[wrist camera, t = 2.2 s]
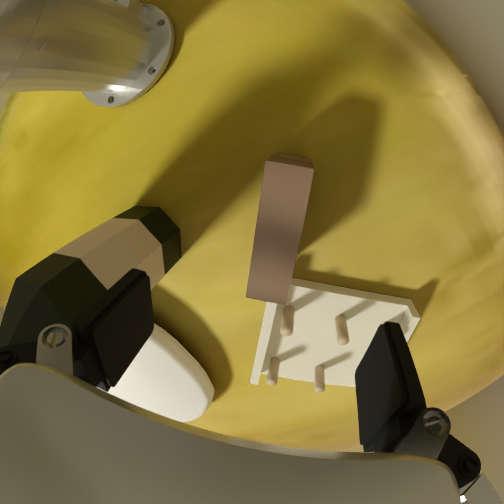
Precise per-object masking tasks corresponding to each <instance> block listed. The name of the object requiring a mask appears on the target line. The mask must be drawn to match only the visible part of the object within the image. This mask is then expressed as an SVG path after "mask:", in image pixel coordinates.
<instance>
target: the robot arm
mask: <svg viewBox="0 0 504 504" xmlns="http://www.w3.org/2000/svg"><path fill="white" fill-rule="evenodd" d="M117 1H118V2H117ZM140 2H141V0H0V94H1V93H12V92H28V91H82V92H83V94H84V95H85V97H86V98H87V99H88V100H89V101H91V102H92V103H93V104H96V105H98V106H102V107H118V106H122V105H126V104H128V103H131V102H133V101H135V100H136V99H138V98H139V97H141V96H142V95H144V94H145V93H146V92H147V91H148V90H149V89H150V88H151V87H153V85H154V84H155V83H156V82H157V81H158V79H159V78H160V77H161V75H162V74H163V72H164V70H165V69H166V67H167V65H168V63H169V60H170V58H171V55H172V52H173V48H174V41H175V33H174V27H173V24H172V22H171V19H170V18H169V17H168V15H167V14H166V13H165V12H163V11H162V10H161V9H159V8H158V7H156V6H154V5H150V4H145V3H140ZM155 70H156V71H155ZM154 72H155V73H154ZM72 324H73V327H72V328H71V329H69V328H68V327H67V326H65V325H63V324H53V325H50V326H48V327H46V328H44V329H43V330H42V331H41V333H40V334H39V337H38V341H32V342H26V343H20V344H14V345H8V346H4V347H2V348H1V349H0V504H502V500H501V498H500V496H499V495H498V493H497V492H496V490H495V489H494V487H493V486H492V484H491V483H490V481H489V480H488V479H487V477H486V476H485V474H484V473H482V474H481V475H480V469H481V463H480V459H479V457H478V456H477V454H476V453H474V452H473V451H472V450H470V449H469V448H468V447H466V446H465V445H464V444H462V443H461V442H460V441H458V440H457V439H456V438H454V437H453V436H452V435H450V434H449V433H450V429H451V423H450V420H449V417H448V416H447V414H446V413H445V412H443V411H442V410H441V409H438V408H435V407H430V408H427V407H426V402H425V398H424V394H423V391H422V388H421V384H420V381H419V378H418V374H417V371H416V368H415V365H414V362H413V359H412V356H411V353H410V350H409V348H408V345H407V342H406V339H405V336H404V334H403V331H402V328H401V326H400V324H399V323H396V322H389V321H385V322H384V324H380V325H379V327H378V329H377V331H376V333H375V335H374V337H373V339H372V341H371V343H370V345H369V347H368V349H367V351H366V352H365V354H364V356H363V358H362V360H361V362H360V363H359V365H358V367H357V369H356V371H355V385H356V396H357V407H358V420H359V436H360V444H361V445H363V448H364V452H375V453H359V452H357V453H356V452H337V451H321V450H310V449H301V448H292V447H285V446H278V445H272V444H266V443H261V442H256V441H250V440H246V439H241V438H236V437H232V436H228V435H224V434H220V433H216V432H212V431H209V430H205V429H202V428H198V427H195V426H192V425H188V424H185V423H182V422H179V421H176V420H173V419H170V418H167V417H165V416H162V415H159V414H156V413H154V412H151V411H149V410H146V409H144V408H141V407H139V406H136V405H134V404H132V403H129V402H127V401H125V400H122V399H120V398H118V397H116V396H114V395H111V394H109V393H107V392H108V391H109V389H110V388H111V387H115V386H116V385H117V383H118V382H119V380H120V379H121V377H122V376H123V374H124V373H125V371H126V370H127V368H128V367H129V366H130V364H131V363H132V361H133V360H134V358H135V357H136V355H137V354H138V353H139V351H140V350H141V348H142V347H143V345H144V344H145V343H146V341H147V340H148V338H149V337H150V336H151V334H152V332H153V330H154V319H153V310H152V299H151V286H150V277H149V276H148V275H147V273H146V272H145V271H143V270H139V269H135V268H132V269H131V270H129V271H128V272H127V273H126V274H125V275H124V276H123V277H122V278H120V279H119V280H118V281H117V282H116V283H115V284H114V285H113V286H112V287H110V288H109V289H108V290H107V291H106V292H105V293H104V294H103V295H102V296H101V297H100V298H98V299H97V300H96V301H95V302H94V303H93V304H92V305H91V306H90V307H89V308H88V309H87V310H86V311H85V312H84V313H83V314H82V315H81V316H80V317H79V318H78V319H76V320H75V321H74V322H73V323H72ZM97 387H98V388H97ZM99 388H100V389H99ZM101 389H102V390H101ZM103 390H104V391H103ZM105 391H106V392H105Z"/></svg>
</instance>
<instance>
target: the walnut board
mask: <svg viewBox="0 0 504 504" xmlns="http://www.w3.org/2000/svg"><path fill="white" fill-rule="evenodd" d="M313 173H314V167H313V164H312V162H311V159H310V158H304V157H299V156H294V155H288V154H282V153H276V154H274V155H273V156H271V157H270V158H268V159H267V160H266V161H265V167H264V174H263V181H262V188H261V195H260V202H259V209H258V216H257V223H256V230H255V237H254V244H253V251H252V258H251V265H250V272H249V278H248V285H247V292H246V297H247V298H252V299H257V300H261V301H266V302H271V303H276V304H281V305H285V304H286V300H287V296H288V292H289V288H290V284H291V279H292V275H293V271H294V266H295V262H296V257H297V253H298V248H299V244H300V239H301V234H302V229H303V225H304V220H305V215H306V210H307V205H308V200H309V195H310V189H311V184H312V179H313Z"/></svg>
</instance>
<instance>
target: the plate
mask: <svg viewBox="0 0 504 504" xmlns="http://www.w3.org/2000/svg"><path fill="white" fill-rule="evenodd" d="M97 388H98V387H97ZM99 389H100V388H99ZM101 390H102V389H101ZM214 390H215V389H214V387H213V385H212V383H211V381H210V379H209V377H208V375H207V373H206V372H205V371H204V369H203V368H202V367H201V365H200V364H199V363H198V361H197V360H196V359H195V358H194V357H193V356H192V355H191V354H190V353H189V352H188V351H187V350H186V349H185V348H184V347H183V346H182V345H181V344H180V343H179V342H178V341H177V340H176V339H175V338H173V337H172V336H171V335H170V334H169V333H167V332H166V331H165V330H164V329H163V328H161V327H159V326H158V325H156V324H155V323H154V330H153V332H152V334H151V336H150V337H149V338H148V340H147V341H146V343H145V344H144V345H143V347H142V348H141V350H140V351H139V353H138V354H137V355H136V357H135V358H134V360H133V361H132V363H131V364H130V366H129V367H128V368H127V370H126V371H125V373H124V374H123V376H122V377H121V379H120V380H119V382H118V383H117V385H116V386H115V387H111V388H110V389H109V391H108V392H107V393H109V394H111V395H114V396H116V397H118V398H120V399H122V400H125V401H127V402H129V403H132V404H134V405H136V406H139V407H141V408H144V409H146V410H149V411H151V412H154V413H156V414H159V415H162V416H165V417H167V418H170V419H173V420H176V421H179V422H189V421H192V420H195V419H198V418H199V417H200V416H201V415H203V414H204V413H205V412H206V410H207V409H208V407H209V406H210V404H211V402H212V399H213V396H214ZM103 391H104V390H103ZM105 392H106V391H105Z"/></svg>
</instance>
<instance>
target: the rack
mask: <svg viewBox="0 0 504 504" xmlns="http://www.w3.org/2000/svg"><path fill="white" fill-rule="evenodd" d="M419 320H420V316H419V314H418V312H417V310H416V308H415V306H414V304H413V302H412V300H411V299H406V298H401V297H395V296H389V295H383V294H378V293H372V292H367V291H361V290H356V289H350V288H345V287H339V286H334V285H329V284H323V283H318V282H313V281H308V280H302V279H297V278H292V279H291V284H290V288H289V292H288V296H287V300H286V304H285V305H281V304H276V303H271V302H267V303H266V308H265V313H264V318H263V323H262V328H261V333H260V337H259V342H258V347H257V352H256V357H255V361H254V366H253V371H252V375H251V380H250V383H251V384H256V385H258V382H259V378H260V374H267V380H266V383H267V384H269V385H276V384H277V379H278V377H283V378H288V379H295V380H301V381H308V382H314V391H315V392H318V393H320V392H323V391H324V390H325V384H330V385H339V386H349V387H356V385H355V371H356V369H357V367H358V365H359V363H360V362H361V360H362V358H363V356H364V354H365V352H366V351H367V349H368V347H369V345H370V343H371V341H372V339H373V337H374V335H375V333H376V331H377V329H378V327H379V325H380V324H384V322H385V321H389V322H396V323H399V324H400V326H401V328H402V331H403V334H404V336H405V339H406V342H408V340H409V338H410V336H411V335H412V333H413V331H414V329H415V327H416V326H417V324H418V322H419Z"/></svg>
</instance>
